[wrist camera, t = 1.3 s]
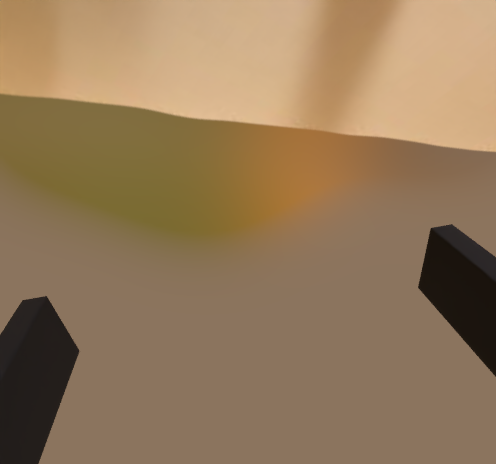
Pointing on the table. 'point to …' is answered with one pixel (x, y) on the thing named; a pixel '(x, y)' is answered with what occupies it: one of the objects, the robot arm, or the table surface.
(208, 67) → the table surface
